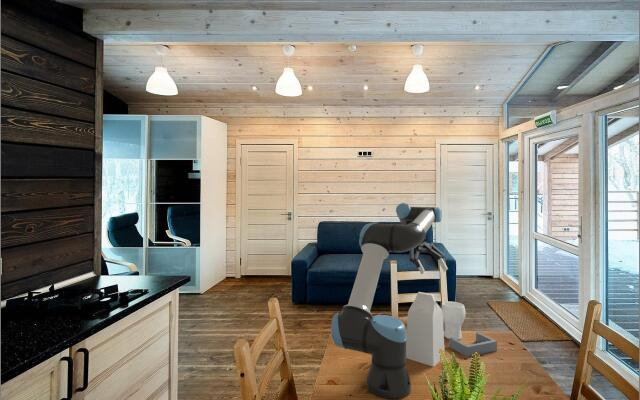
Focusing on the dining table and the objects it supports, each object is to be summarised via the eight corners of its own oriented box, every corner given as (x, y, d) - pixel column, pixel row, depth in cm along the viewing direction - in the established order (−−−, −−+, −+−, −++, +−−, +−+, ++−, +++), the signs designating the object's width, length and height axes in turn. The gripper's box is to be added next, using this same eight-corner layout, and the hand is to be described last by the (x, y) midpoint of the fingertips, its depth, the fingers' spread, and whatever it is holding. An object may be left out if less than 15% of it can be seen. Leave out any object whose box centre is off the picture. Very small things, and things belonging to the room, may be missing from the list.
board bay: (467, 357, 147) (467, 347, 147) (449, 346, 157) (449, 337, 157) (496, 350, 153) (497, 341, 153) (477, 341, 163) (477, 332, 163)
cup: (461, 332, 173) (461, 301, 172) (468, 341, 162) (468, 308, 162) (438, 331, 174) (438, 300, 173) (443, 340, 163) (444, 307, 163)
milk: (444, 356, 148) (445, 293, 147) (433, 366, 139) (434, 299, 139) (416, 348, 156) (417, 288, 155) (404, 357, 147) (405, 294, 146)
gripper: (432, 239, 197) (451, 273, 184) (393, 242, 188) (409, 277, 175) (439, 231, 192) (459, 265, 179) (398, 233, 183) (416, 269, 170)
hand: (434, 271), depth 177 cm, fingers open, 13 cm apart
